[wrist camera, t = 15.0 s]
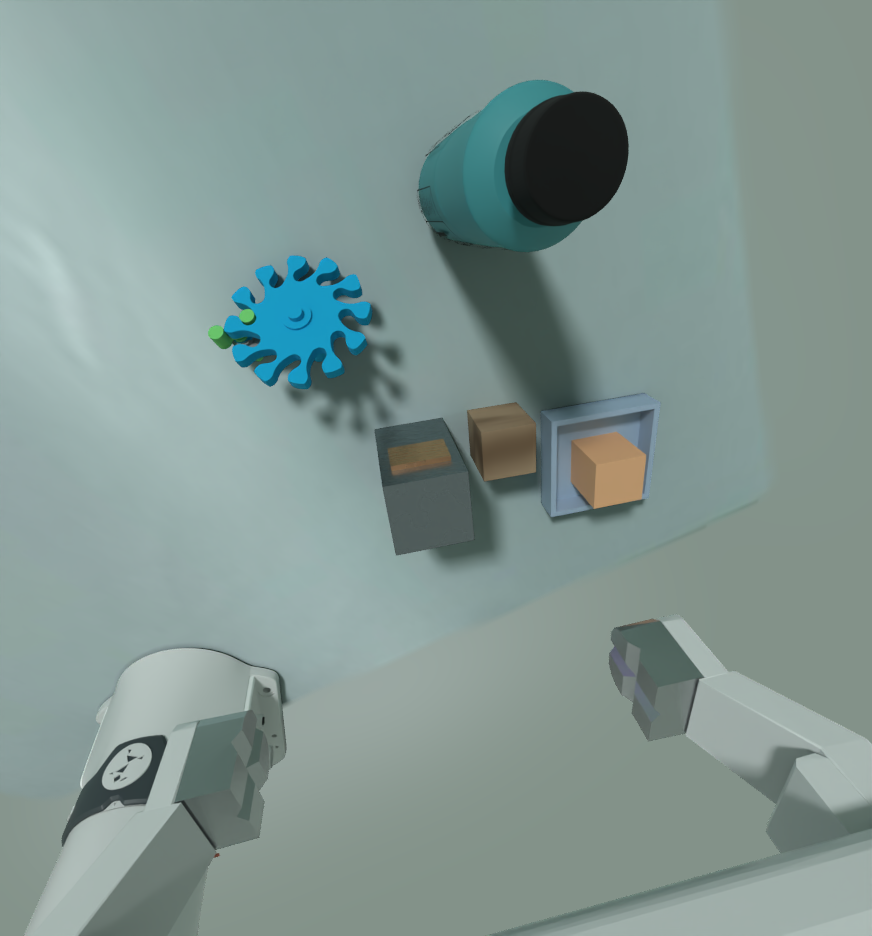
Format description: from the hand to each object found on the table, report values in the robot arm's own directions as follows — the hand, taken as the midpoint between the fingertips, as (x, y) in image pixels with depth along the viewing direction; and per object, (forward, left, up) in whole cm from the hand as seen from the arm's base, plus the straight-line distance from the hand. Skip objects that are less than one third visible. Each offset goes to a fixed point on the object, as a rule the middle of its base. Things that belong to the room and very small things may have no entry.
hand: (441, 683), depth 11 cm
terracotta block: (-13, -19, -30) cm, 38 cm away
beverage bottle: (+10, -8, -31) cm, 34 cm away
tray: (-13, -19, -31) cm, 39 cm away
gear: (+3, +5, -31) cm, 32 cm away
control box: (-10, -2, -31) cm, 33 cm away
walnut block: (-9, -9, -31) cm, 34 cm away
